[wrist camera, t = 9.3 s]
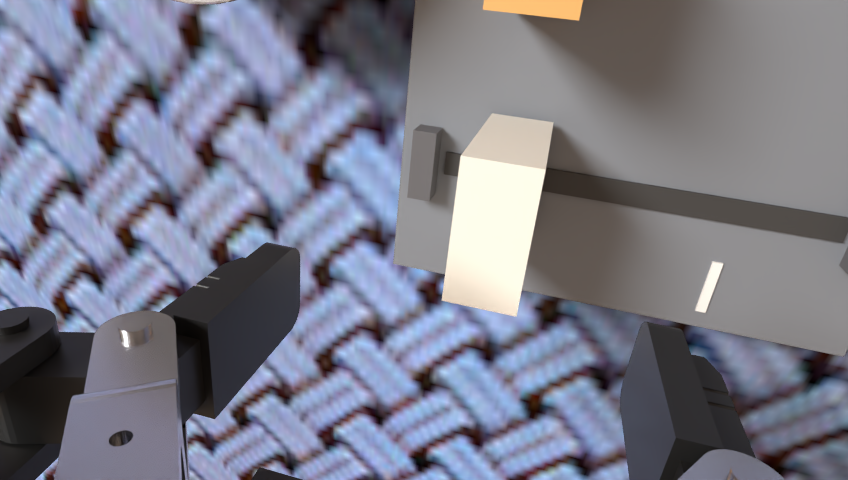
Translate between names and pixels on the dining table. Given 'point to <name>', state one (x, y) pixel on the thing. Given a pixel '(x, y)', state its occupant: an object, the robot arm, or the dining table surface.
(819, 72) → the console
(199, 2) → the teacup
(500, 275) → the fader ivory
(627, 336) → the dining table surface
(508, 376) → the dining table surface
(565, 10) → the fader orange
